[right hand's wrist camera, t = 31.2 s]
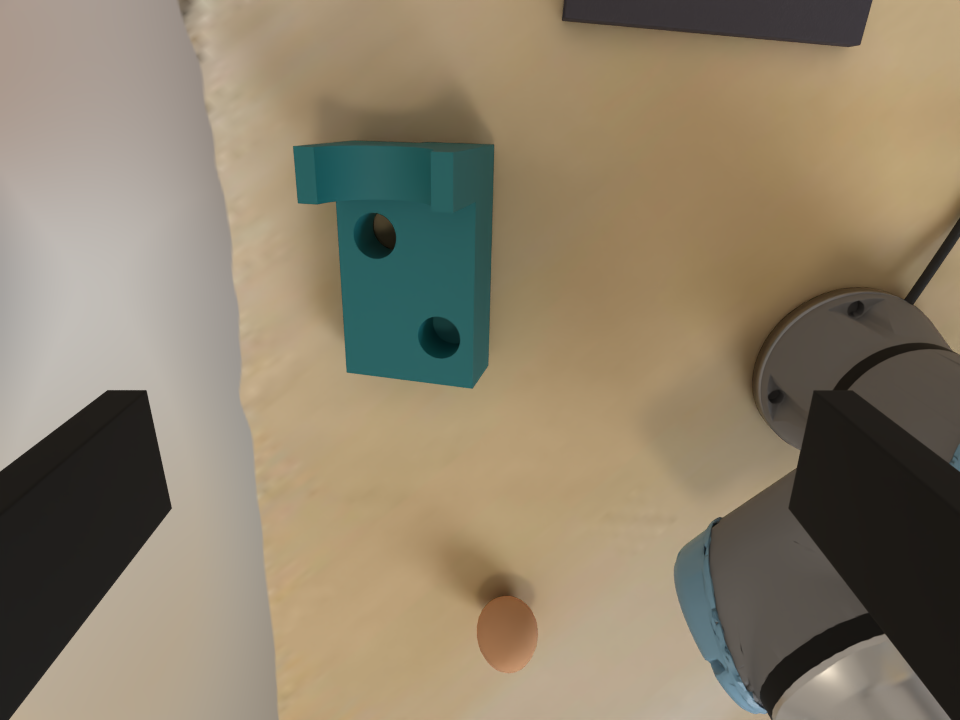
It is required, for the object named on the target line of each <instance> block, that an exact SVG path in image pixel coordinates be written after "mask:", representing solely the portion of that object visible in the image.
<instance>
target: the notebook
mask: <svg viewBox="0 0 960 720" xmlns="http://www.w3.org/2000/svg"><path fill="white" fill-rule="evenodd" d="M871 3H872V0H564V8H563V16H562V21H570V22H581V23H592V24H603V25H614V26H625V27H636V28H647V29H658V30H669V31H679V32H690V33H701V34H712V35H723V36H734V37H745V38H756V39H767V40H778V41H789V42H800V43H810V44H821V45H832V46H843V47H851V46H857V45H860V44H861V40H862V36H863V33H864V29H865V25H866V22H867V18H868V14H869V11H870V7H871Z"/></svg>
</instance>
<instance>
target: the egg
mask: <svg viewBox="0 0 960 720" xmlns="http://www.w3.org/2000/svg"><path fill="white" fill-rule="evenodd" d="M537 638H538V630H537V623H536V619H535V617H534V615H533V613H532V611H531V609H530V608H529V607H528V606H527V605H526V604H525V603H524V602H523V601H522V600H520V599H518V598H516V597H512V596H501V597H497V598H495V599H493V600H492V601H490V602H489V603H488V604H487V605H486V606H485V607H484V609H483V610H482V612H481V614H480V616H479V619H478V624H477V639H478V644H479V647H480V650H481V652H482V654H483V656H484V657H485V659H486V660H487V662H488V663H489V664H490V665H491V666H492V667H493V668H495V669H496V670H498V671H500V672H505V673H513V672H516V671H519V670H521V669H522V668H523V667H525V665H526V664H527V663H528V662H529V661H530V659H531V657H532V655H533V653H534V651H535V649H536V646H537Z"/></svg>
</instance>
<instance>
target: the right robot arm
mask: <svg viewBox="0 0 960 720" xmlns="http://www.w3.org/2000/svg"><path fill="white" fill-rule="evenodd" d="M959 237H960V218H959V220H958V221H957V223H956V224H955V226H954V227H953V229H952V230H951V232H950V233H949V235H948V236H947V238H946V239H945V241H944V242H943V244H942V245H941V247H940V248H939V250H938V251H937V253H936V254H935V256H934V257H933V259H932V260H931V262H930V263H929V265H928V266H927V267H926V269H925V270H924V272H923V273H922V275H921V276H920V278H919V279H918V281H917V282H916V283H915V285H914V286H913V288H912V289H911V291H910V292H909V294H908V295H907V296H906V298H905V299H904V300H903V299H901V298H899V297H897V296H895V295H893V294H890V293H887V292H885V291H881V290H877V289H871V288H846V289H839V290H835V291H831V292H828V293H825V294H822V295H820V296H817V297H815V298H813V299H811V300H809V301H807V302H805V303H804V304H802V305H800V306H799V307H797V308H796V309H795V310H793V311H792V312H791V313H789V314H788V315H787V316H786V317H785V318H784V319H783V320H782V321H781V322H780V323H779V324H778V325H777V326H776V327H775V328H774V329H773V331H772V332H771V333H770V335H769V336H768V338H767V339H766V341H765V342H764V344H763V346H762V348H761V350H760V352H759V355H758V357H757V360H756V363H755V368H754V373H753V394H754V399H755V403H756V405H757V408H758V410H759V412H760V414H761V416H762V417H763V419H764V420H765V422H766V423H767V424H768V425H769V426H770V427H771V428H772V430H773V431H774V432H775V433H776V434H777V435H778V436H779V437H780V438H781V439H783V440H784V441H785V442H787V443H788V444H790V445H792V446H793V447H795V448H797V449H799V450H801V451H800V456H799V461H798V465H797V468H796V469H794V470H793V471H791V472H790V473H788V474H787V475H786V476H784V477H783V478H781V479H780V480H778V481H777V482H775V483H774V484H772V485H771V486H769V487H768V488H766V489H765V490H763V491H762V492H760V493H759V494H757V495H756V496H754V497H753V498H751V499H750V500H748V501H747V502H745V503H744V504H743V505H741V506H740V507H738V508H737V509H735V510H734V511H732V512H731V513H729V514H728V515H726V516H725V517H723V518H721V517H719V518H717V519H715V520H713V521H712V522H711V523H710V525H709V526H708V528H707V529H706V530H705V531H703V532H702V533H701V534H699V535H698V536H697V537H695V538H694V539H693V540H691V541H690V542H689V543H687V544H686V545H685V546H684V547H683V548H682V549H681V550H680V552H679V553H678V556H677V560H676V563H675V566H674V581H675V587H676V592H677V596H678V600H679V603H680V606H681V609H682V612H683V615H684V617H685V620H686V622H687V625H688V627H689V629H690V631H691V634H692V636H693V638H694V640H695V642H696V644H697V646H698V648H699V650H700V652H701V654H702V656H703V657H704V658H705V660H707V661H709V662H710V663H711V667H712V669H713V672H714V674H715V677H716V678H717V680H718V681H719V683H720V684H721V686H722V687H723V688H724V690H725V691H726V692H727V693H728V695H729V696H730V697H731V698H732V699H733V700H734V701H735V702H736V703H737V704H738V705H739V706H740V707H741V708H743V709H744V710H746V711H749V712H751V713H753V714H758V713H761V714H766V713H768V715H769V716H770V718H771V720H960V355H959V354H957V353H955V352H953V351H952V350H951V348H950V347H949V346H948V344H947V343H946V341H945V340H944V339H943V337H942V336H941V334H940V333H939V332H938V330H937V329H936V328H935V326H934V325H933V323H932V322H931V321H930V320H929V318H928V317H927V316H926V315H925V314H924V313H923V312H922V311H920V310H919V309H918V308H917V307H916V306H914V305H913V304H914V303H915V301H916V300H917V298H918V297H919V296H920V294H921V293H922V291H923V290H924V288H925V287H926V285H927V284H928V283H929V281H930V280H931V278H932V277H933V275H934V274H935V272H936V271H937V270H938V268H939V267H940V265H941V264H942V262H943V261H944V259H945V258H946V256H947V255H948V253H949V252H950V251H951V249H952V248H953V246H954V245H955V243H956V242H957V240H958V239H959ZM171 509H172V507H171V502H170V498H169V493H168V489H167V484H166V479H165V475H164V470H163V465H162V461H161V456H160V451H159V447H158V442H157V437H156V433H155V428H154V423H153V419H152V414H151V409H150V405H149V400H148V395H147V391H146V390H107V391H106V392H105V393H103V394H102V395H101V396H99V397H98V398H97V399H95V400H94V401H93V402H91V403H90V404H89V405H87V406H86V407H85V408H84V409H82V410H81V411H80V412H78V413H77V414H76V415H74V416H73V417H72V418H70V419H69V420H68V421H66V422H65V423H64V424H62V425H61V426H60V427H58V428H57V429H56V430H54V431H53V432H52V433H51V434H49V435H48V436H47V437H45V438H44V439H43V440H41V441H40V442H39V443H37V444H36V445H35V446H33V447H32V448H31V449H29V450H28V451H27V452H25V453H24V454H23V455H21V456H20V457H19V458H18V459H16V460H15V461H14V462H12V463H11V464H10V465H8V466H7V467H6V468H4V469H3V470H2V471H0V720H9V719H10V718H11V716H12V715H13V714H14V712H15V711H16V710H17V709H18V707H19V706H20V705H21V703H22V702H23V701H24V700H25V698H26V697H27V696H28V694H29V693H30V692H31V690H32V689H33V688H34V687H35V685H36V684H37V683H38V681H39V680H40V679H41V677H42V676H43V675H44V674H45V672H46V671H47V670H48V668H49V667H50V666H51V664H52V663H53V662H54V661H55V659H56V658H57V657H58V655H59V654H60V653H61V651H62V650H63V649H64V648H65V646H66V645H67V644H68V642H69V641H70V640H71V638H72V637H73V636H74V635H75V633H76V632H77V631H78V629H79V628H80V627H81V626H82V624H83V623H84V622H85V620H86V619H87V618H88V616H89V615H90V614H91V613H92V611H93V610H94V609H95V607H96V606H97V605H98V603H99V602H100V601H101V600H102V598H103V597H104V596H105V594H106V593H107V592H108V590H109V589H110V588H111V586H112V585H113V584H114V583H115V581H116V580H117V579H118V577H119V576H120V575H121V573H122V572H123V571H124V570H125V568H126V567H127V566H128V564H129V563H130V562H131V561H132V559H133V558H134V557H135V555H136V554H137V553H138V551H139V550H140V549H141V548H142V546H143V545H144V544H145V542H146V541H147V540H148V538H149V537H150V536H151V535H152V533H153V532H154V531H155V529H156V528H157V527H158V526H159V524H160V523H161V522H162V520H163V519H164V518H165V516H166V515H167V514H168V513H169V511H170V510H171Z"/></svg>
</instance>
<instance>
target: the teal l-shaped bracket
mask: <svg viewBox="0 0 960 720" xmlns="http://www.w3.org/2000/svg"><path fill="white" fill-rule="evenodd" d="M293 150H294V162H295V174H296V186H297V197H298V203H302V204H322V203H327V202H335V201H336V209H337V225H338V241H339V257H340V272H341V288H342V304H343V320H344V336H345V352H346V368H347V372H348V373H355V374H363V375H371V376H379V377H387V378H394V379H402V380H410V381H418V382H425V383H433V384H441V385H449V386H457V387H464V388H472V389H473V387H474V386H475V384H476V383H477V381H478V380H479V378H480V377H481V375H482V374H483V372H484V371H485V370H486V368H487V367H488V357H489V319H490V282H491V245H492V208H493V171H494V144H465V143H437V142H424V143H407V142H379V141H344V142H334V143H323V144H312V145H301V146H293ZM377 213H378V214H381V215H383V216H384V217H386V218H387V219H388V220H389V221H390V222H391V223H392V225H393V227H394V229H395V233H396V244H395V247H394V249H389V248H386V247H384V246H383V245H382V244H381V243H380V242H379V241H378V240H377V238H376V237H375V234H374V231H373V221H374V218H375V216H376V214H377Z"/></svg>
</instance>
